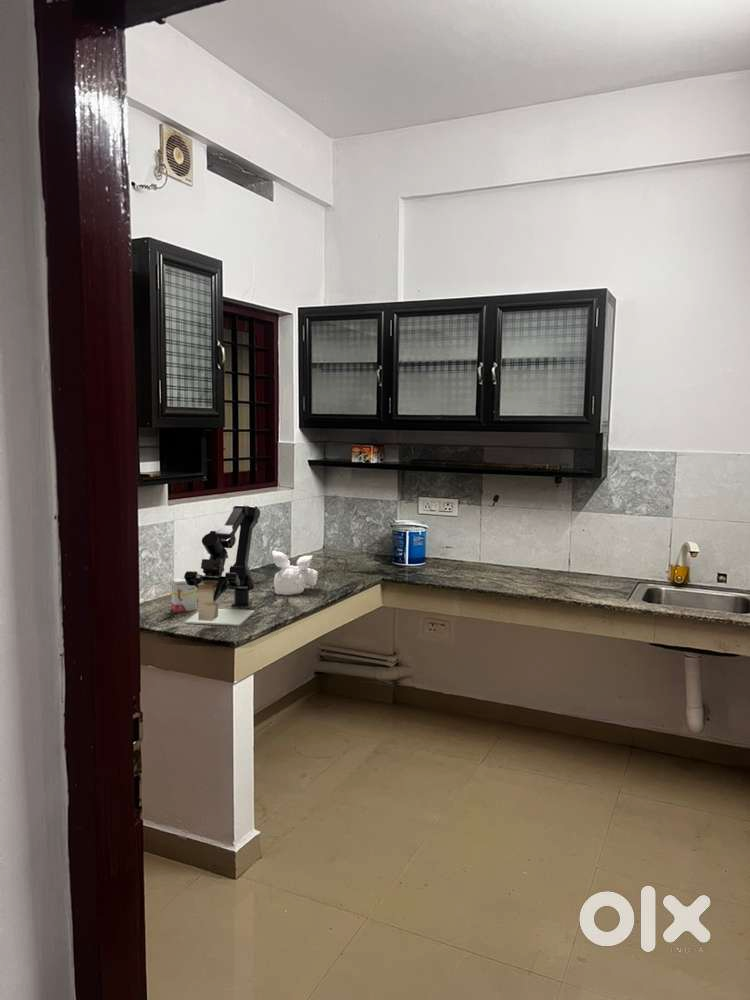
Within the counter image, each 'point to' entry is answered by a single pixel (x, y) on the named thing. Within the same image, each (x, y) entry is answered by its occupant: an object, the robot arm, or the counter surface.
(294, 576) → the white tied bag bundle
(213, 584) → the birch block
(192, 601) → the ink box
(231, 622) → the sage mat
